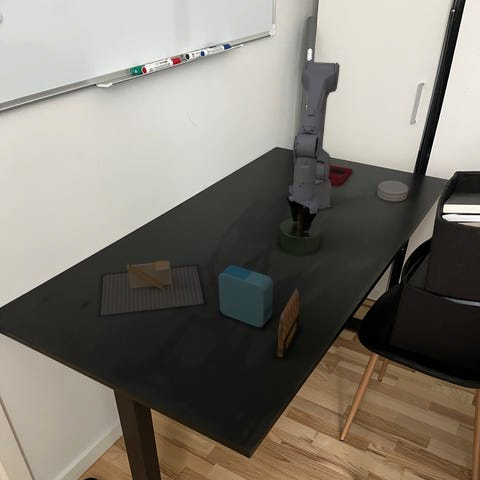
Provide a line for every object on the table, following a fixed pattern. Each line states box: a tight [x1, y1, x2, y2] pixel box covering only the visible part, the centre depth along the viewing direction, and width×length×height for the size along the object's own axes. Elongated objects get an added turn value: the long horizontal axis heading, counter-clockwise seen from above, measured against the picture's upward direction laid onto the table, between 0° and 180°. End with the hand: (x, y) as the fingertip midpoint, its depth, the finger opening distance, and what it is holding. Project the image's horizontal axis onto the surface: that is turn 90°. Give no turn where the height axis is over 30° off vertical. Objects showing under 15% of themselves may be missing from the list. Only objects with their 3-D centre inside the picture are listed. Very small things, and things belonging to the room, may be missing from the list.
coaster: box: [376, 180, 409, 203], centre depth 170 cm, size 10×10×4 cm
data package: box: [218, 264, 274, 328], centre depth 116 cm, size 12×4×12 cm, turn 59°
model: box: [126, 260, 174, 291], centre depth 127 cm, size 3×11×8 cm, turn 100°
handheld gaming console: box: [328, 164, 353, 187], centre depth 183 cm, size 10×1×15 cm
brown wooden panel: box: [275, 287, 300, 359], centre depth 109 cm, size 11×2×12 cm, turn 157°
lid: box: [279, 213, 323, 239], centre depth 141 cm, size 12×12×5 cm
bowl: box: [279, 231, 321, 255], centre depth 144 cm, size 11×11×5 cm
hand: (301, 225), depth 142 cm, fingers open, 5 cm apart
